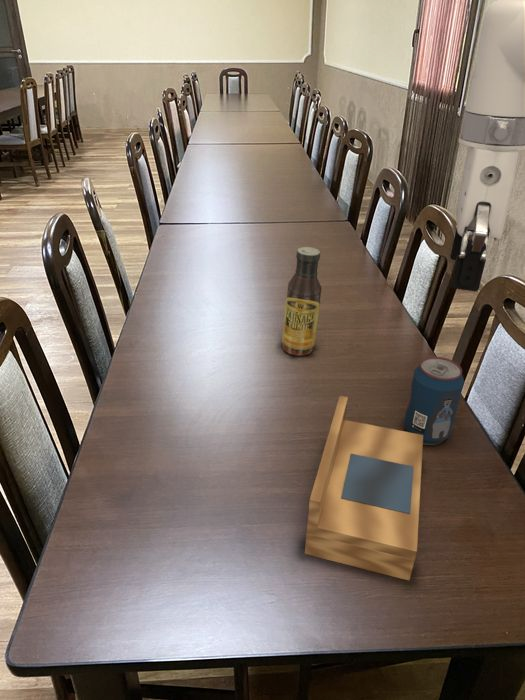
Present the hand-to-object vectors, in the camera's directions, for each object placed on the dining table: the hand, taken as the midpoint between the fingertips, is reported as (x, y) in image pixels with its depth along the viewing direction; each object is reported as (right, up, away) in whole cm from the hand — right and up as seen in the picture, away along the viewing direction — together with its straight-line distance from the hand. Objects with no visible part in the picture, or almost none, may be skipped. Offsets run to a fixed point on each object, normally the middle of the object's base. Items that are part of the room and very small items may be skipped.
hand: (463, 273), depth 69 cm
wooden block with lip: (-12, -30, +1) cm, 32 cm away
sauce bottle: (-19, -10, +34) cm, 40 cm away
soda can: (-1, -23, +14) cm, 26 cm away
